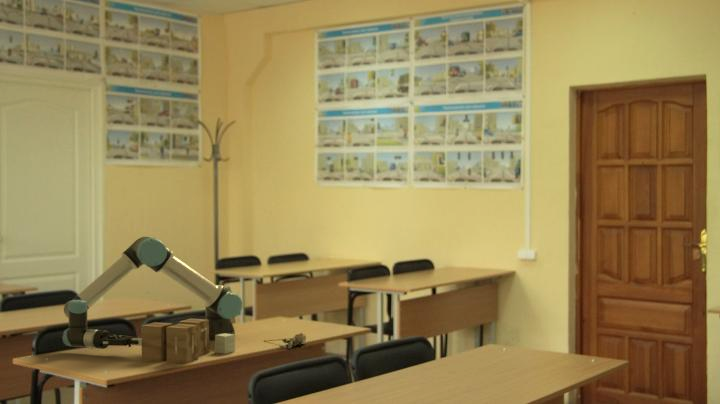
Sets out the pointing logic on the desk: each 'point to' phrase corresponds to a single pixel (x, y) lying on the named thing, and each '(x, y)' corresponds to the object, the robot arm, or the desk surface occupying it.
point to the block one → (182, 343)
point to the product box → (224, 343)
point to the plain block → (154, 341)
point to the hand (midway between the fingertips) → (146, 342)
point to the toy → (293, 341)
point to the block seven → (200, 334)
